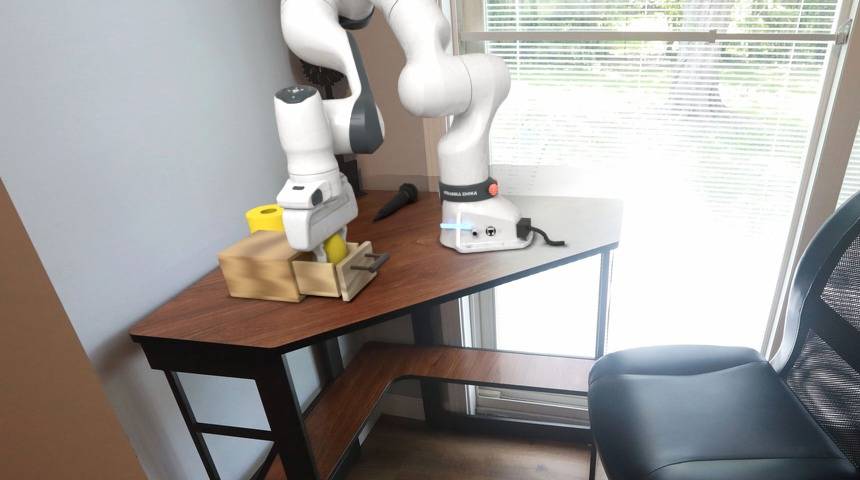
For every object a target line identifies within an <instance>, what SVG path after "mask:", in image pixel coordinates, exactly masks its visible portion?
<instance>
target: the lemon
mask: <svg viewBox="0 0 860 480" xmlns="http://www.w3.org/2000/svg"><path fill="white" fill-rule="evenodd" d="M323 244H324V246H323V247H322V248H323V249H324V251H325V252H328V253H329V258H330V260H329V261H328V262H327V263H333V264H334V269H335V270H336V265H337V264H339V263H340V262H341V261H342V260H343V259H345V258H346V257H347V247H346V244H345V242H344V240H343V239H342V238H341V237H340V236H339V235H338V234H336V232H335V233H334V234H333V235H331V236H330V237H329V238H327V239H326V240H325V241H323Z"/></svg>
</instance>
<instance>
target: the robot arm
mask: <svg viewBox="0 0 860 480" xmlns="http://www.w3.org/2000/svg"><path fill="white" fill-rule="evenodd" d="M376 8H377V9H378V10H379V11H380V13H381V14H383V16H384V18H385V20H386V23H387V24H388V25H389V27H390V29H391V31H392V33H393V35H394V36H395V38H396V40H397V42H398V43H399V45H400V47H401V49H402V51H403V52H404V56H405V59H406V62H405V66H404V67H403V68H402V69H401V72H400V73H399V76H398V82H397V93H398V97H399V100H400V102H401V104H402V106H403V108H404V110H406V112H407V113H408V114H409V115H410V116H412V117H414V118H419V119H421V118H422V119H439V118H445V117H446V118H447V117H451V116H453V118H452V122H451V124H450V127H449V128H448V130H447V132H445V133H444V134H443V135H442V136H441V137H440V139H439V141H438V143H437V147H436V154H437V155H436V156H437V163H438V165H437V166H438V174H439V180H438V196H439V201H440V206H441V223H440V235H439V242H440V243H441V244H442V245H443V246H445V247H447V248H450V249H454V250H456V251H457V252H458V253H461V254H469V253H481V252H483V253H484V252H492V251H494V252H495V251H505V250H515V249H516V250H517V249H524V248H526V247H528V246H529V245H530V244H531V243H532V242H533V240H534V233H536V234H539V235H540V236H542V238H543V239H544V241H545V243H546V244H547V245H550V246H565V240H556V241H555V240H552V239H550V238H549V236H548V235H547V233H546V232H545V231H544V230H543V229H541V228H539V227H536V226H533V225H532V218H531V217H523V215H522V214H523V213H522V212H521V209H520V208H519V207H518V205H516V204H514V203H513V202H512V201H510V200H509V199H507V198H505V197H504V196H503V195H501V194H500V193H499V183H498V178H497V177H494V178H492V176H489V157H488V156H489V155H488V153H489V152H488V150H489V149H488V147H489V137H490V131H491V128H492V124H493V121H494V119H495V117H496V114H497V112H498V110H499V108H500V107H501V106H502V104H503V103H504V102H505V101H506V100H507V98H508V96H509V94H510V92H511V86H512V85H511V84H512V77H511V72H510V69H509V67H508V65H507V63H506V61H505V60H504V59H503V58H502V57H501V56H499V55H495V54H490V53H482V52H476V53H475V52H473V53H467V54H459V55H458V54H457V55H450V54H449V53H447V52H446V51H447V50H448V48H449V47H450V43H451V39H452V29H451V25H450V22H449V20H448V18H447V17H446V15H445V14H444V12H443V11H442V9H441V7H440V6H439V4H438V2H437V1H436V0H280V25H281V31H282V37H283V39H284V42H285V44H286V45H287V47H288V48H289V49H290V51H291V52H292V53H293V54H295V55H296V56H297V57H298V58H299V59H300V60H302V61H304V62H306V63H307V64H310V65H313V66H317V67H322V68H327V69H330V70H334V71H337V72H338V73H341V74H343V75H344V76H346V79H347V82H348V85H349V89H350V93H351V95H350V96H348V97H344V98H335V99H334V98H333V99H322V96H321V93H320V92H319V90H318V88H316V87H314V86H311V85H306V84H296V85H290V86H289V85H288V86H287V87H283V88H280V89H279V90H277V91H276V93H275V94H274V96H273V104H274V116H275V123H276V129H277V134H278V139H279V142H280V146H281V148H282V150H283V153H284V154H285V156H286V161H287V164H286V165H287V166H286V167H287V174H288V177H289V178H288V179H287V180H286V181H285V184H284V186H283V187H282V189H280V191H279V193H278V194H277V196H276V204H278V206H279V207H280V208H284V210H283V213H282V219H283V224H284V228H285V232H286V236H287V239H288V242H289V245H290V246H291V247H292V248H293V249H294V250H295V251H306V252H309V251H311V250H312V251H313V252H314V253H315V254H316V256H317V260H318V262H322V263H327V262H328V261H329V260H330V258H329V253H328V252H325V251H324V249H323V248H322V247H323V246H324V244H323V241H325V240H326V239H327V238H329V237H330V236H331V235H333V234H334V233H336V234H338V235H339V236H340V237H341V238H342V239H343V240H344V242H345V244H346V242H347V233H348V226H347V225H348V224H349V223H350V222H351V221H353V220H355V219H356V218H357V217H358V215H359V207H358V202H357V199H356V196H355V191H354V188H353V186H352V184H351V183H350V182H349V180H348V177H347V176H346V175H345V174H344V173H343V172H342V171H340V168H339V163H338V160H337V159H336V157H335V155H337V156H338V155H350V154H355V155H373V154H374V153H375V152H376V151H377V150H379V148H380V147H381V146H382V145H383V143H384V142H385V135H386V132H385V131H386V129H385V123H384V122H385V121H384V119H383V116H382V113H381V110H380V109H379V107H378V105H377V103H376V101H375V97H374V94H373V89H372V86H371V82H370V79H369V76H368V72H367V69H366V66H365V62H364V59H363V58H364V57H362V56H363V55H362V53H361V50H360V46H359V44H358V41H357V39H356V37H355V36H354V34H353V33H352V32H350V31H360V30H363V29H365V28H367V27H368V26H369V25H370V24H371V22H372V20H373V17H374V14H375V9H376ZM346 247H347V244H346Z"/></svg>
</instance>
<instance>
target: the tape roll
mask: <svg viewBox="0 0 860 480" xmlns="http://www.w3.org/2000/svg"><path fill="white" fill-rule="evenodd" d="M283 210H284V208H280V207H279V206H278V203H275V204H273V203H272V204H266V205H261V206H257V207H254V208H252V209H250V210H248V211H247V212H246V213H245V219H246V221H247V224H248V228H249V231H250V234H252V233H254V232H256V231H257V230H271V231H285V228H284V224H283V219H282V213H283Z"/></svg>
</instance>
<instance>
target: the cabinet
mask: <svg viewBox="0 0 860 480" xmlns="http://www.w3.org/2000/svg"><path fill="white" fill-rule="evenodd" d="M303 252H304V251H295V250H294V249H293V248H292V247H291V246H290V245H289V242H288V239H287V236H286V232H285V231H271V230H257V231H256V232H254V233H252V234H251V233H250V234H249V235H247V236H245V237H244V238H242V239H240V240H239V241H237V242H235V243H234V244H231V245H230V246H229V247H227V248H225V249H223V250H222V251H219V253H217V254H216V258H217V260H218V263H219V266H220V269H221V272H222V274H223V278H224V280H225V283H226V286H227V290H228V292H229V294H230V297H234V298H243V299H244V298H247V299H255V300H256V299H258V300H268V301H280V302H290V303H300V302H302V301H303V300H304V299H305V298H306V297H307V296H309V295H308V294H299V292H298V288H297V285H296V281H295V277H294V274H293V270H292V266H291V263H290V261H292V260H293V259H295V258H296V257H297V256H299V255H300V254H302V253H303Z"/></svg>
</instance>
